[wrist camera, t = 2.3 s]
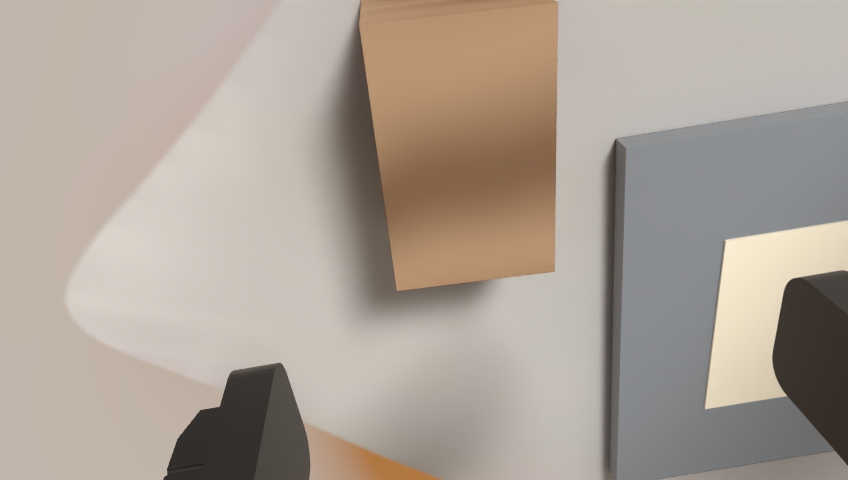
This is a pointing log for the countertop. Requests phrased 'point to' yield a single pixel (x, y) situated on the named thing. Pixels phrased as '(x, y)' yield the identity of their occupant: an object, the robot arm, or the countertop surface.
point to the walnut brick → (464, 135)
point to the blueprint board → (718, 285)
